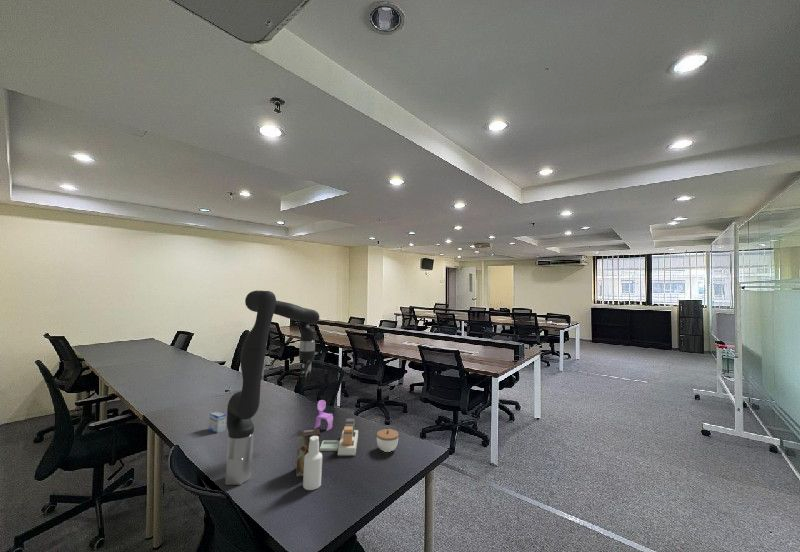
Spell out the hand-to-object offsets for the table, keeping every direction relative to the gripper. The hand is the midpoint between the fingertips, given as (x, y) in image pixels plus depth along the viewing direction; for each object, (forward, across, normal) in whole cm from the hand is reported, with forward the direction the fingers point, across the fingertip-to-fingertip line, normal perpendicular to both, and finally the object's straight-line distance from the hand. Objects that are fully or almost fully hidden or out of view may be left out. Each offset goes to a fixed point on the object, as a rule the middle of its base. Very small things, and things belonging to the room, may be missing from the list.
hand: (305, 382), depth 159 cm
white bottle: (+30, -35, -12) cm, 48 cm away
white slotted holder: (+30, -3, -23) cm, 38 cm away
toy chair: (+30, +19, -7) cm, 37 cm away
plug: (+29, -8, -23) cm, 38 cm away
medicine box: (+30, +16, +49) cm, 60 cm away
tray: (+30, -4, -14) cm, 33 cm away
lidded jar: (+30, -6, -42) cm, 52 cm away
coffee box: (+30, -25, -8) cm, 40 cm away
